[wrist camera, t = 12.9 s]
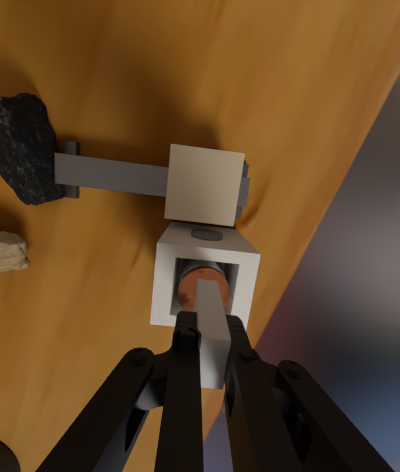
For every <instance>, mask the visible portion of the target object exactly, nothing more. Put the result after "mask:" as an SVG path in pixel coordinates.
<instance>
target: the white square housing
mask: <svg viewBox="0 0 400 472" xmlns="http://www.w3.org/2000/svg"><path fill="white" fill-rule="evenodd" d="M260 255H261V254H260V253H259V252H258V251H257V250H256V249H255V248H254V247H253V246H252V245H251V244H250V243H249V242H248V241H247V240H246V239H245V238H244V237H243V235H242V234H241V233H240V232H239V231H238V230H236V229H228V228H220V227H211V226H203V225H194V224H186V223H177V222H171V223H170V224H169V226H168V227H167V228H166V230H165V231H164V233H163V234H162V236H161V237H160V239H159V240H158V242H157V250H156V262H155V274H154V286H153V297H152V309H151V321H150V324H154V325H164V326H175V323H176V316H177V314H178V313H179V312H180V311H184V310H183V308H182V307H181V305H180V303H179V300H178V289H179V283H180V277H181V270H182V264H183V260H184V258H188V259H197V260H206V261H215V262H221V265H222V268H223V271H224V274H225V277H226V280H227V283H228V285H229V288H230V300H229V303H228V305H227V307H226V308H225V309H224V311H225V314H226V315H236V316H238V317H239V318H240V319H241V320H242V322H243V325H244V328H245V331H246V328H247V323H248V318H249V312H250V307H251V302H252V297H253V292H254V286H255V281H256V276H257V271H258V266H259V260H260Z"/></svg>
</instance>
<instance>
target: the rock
mask: <svg viewBox="0 0 400 472" xmlns="http://www.w3.org/2000/svg"><path fill="white" fill-rule="evenodd" d="M47 114H48V113H47V110H46V106H45V105H44V103H43V102H42V101H41V100H40V99H39V98H38V97H37V96H35V95H31V94H29V93H21V94H18V95H17V96H16V97H15V96H14V97H12V98H8V97H0V175H1V177H2V178H3V179H4V180H5V181H6V183H7V184H8V185H9V186H10V187H11V188H13V190H14V191H15V193H16V195H17V197H18V198H19V199H20V200H21V201H22V202H24V203H25V204H26V205H29V204H32V205H39V204H42V203H44V202H50V201H54V200H57V199H61V198H63V197H65V184H58V183H55V153H59V151H58V147H57V146H56V136H55V134H54V131H53V129H52V128H51V127H50V126H49V124H48V117H47Z"/></svg>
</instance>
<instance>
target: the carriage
mask: <svg viewBox="0 0 400 472" xmlns="http://www.w3.org/2000/svg"><path fill="white" fill-rule="evenodd" d="M244 157H245V154H244V153H236V152H229V151H222V150H214V149H207V148H200V147H192V146H185V145H178V144H171V148H170V159H169V170H168V182H167V193H166V204H165V215H164V218H166V219H175V220H183V221H191V222H200V223H208V224H217V225H227V226H234V220H235V214H236V207H237V201H238V195H239V188H240V182H241V176H242V170H243V163H244Z"/></svg>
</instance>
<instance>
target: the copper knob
mask: <svg viewBox="0 0 400 472" xmlns="http://www.w3.org/2000/svg"><path fill="white" fill-rule="evenodd" d="M197 279H206V280H215V281H217V282H218V286H219V290H220V294H221V299H222V303H223V307H224V309H225V308H226V307H227V305H228V303H229V300H230V288H229V285H228V283H227V280H226V277H225V274H224V271H223V268H222V265H221V262H215V261H206V260H197V259H188V258H184V260H183V264H182V270H181V277H180V283H179V289H178V300H179V303H180V305H181V307H182V308H183V310H184V311H190V312H193V309H194V302H195V294H196V286H197Z"/></svg>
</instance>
